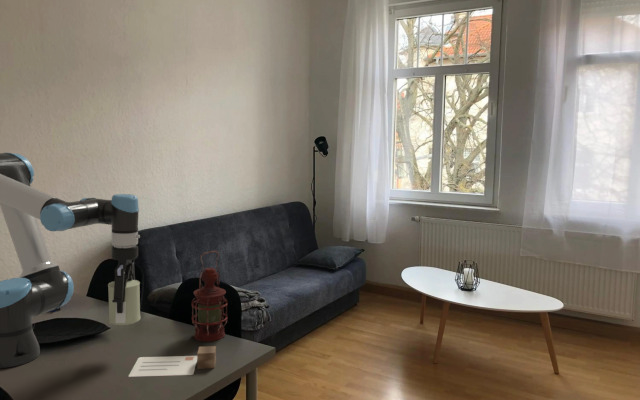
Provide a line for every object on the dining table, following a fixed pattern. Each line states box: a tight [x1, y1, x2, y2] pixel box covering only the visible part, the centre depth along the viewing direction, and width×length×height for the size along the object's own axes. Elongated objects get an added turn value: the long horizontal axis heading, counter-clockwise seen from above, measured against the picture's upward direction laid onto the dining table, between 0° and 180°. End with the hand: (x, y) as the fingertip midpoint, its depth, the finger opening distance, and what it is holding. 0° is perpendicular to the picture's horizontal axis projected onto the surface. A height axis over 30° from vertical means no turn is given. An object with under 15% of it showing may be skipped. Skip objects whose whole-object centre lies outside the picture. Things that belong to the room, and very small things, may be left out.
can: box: [107, 279, 141, 326], centre depth 154 cm, size 9×9×12 cm
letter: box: [128, 355, 197, 378], centre depth 149 cm, size 18×13×1 cm
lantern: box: [191, 250, 229, 343], centre depth 172 cm, size 12×12×30 cm
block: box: [196, 345, 217, 370], centre depth 151 cm, size 5×5×5 cm
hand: (124, 316), depth 154 cm, fingers closed on can, 9 cm apart
